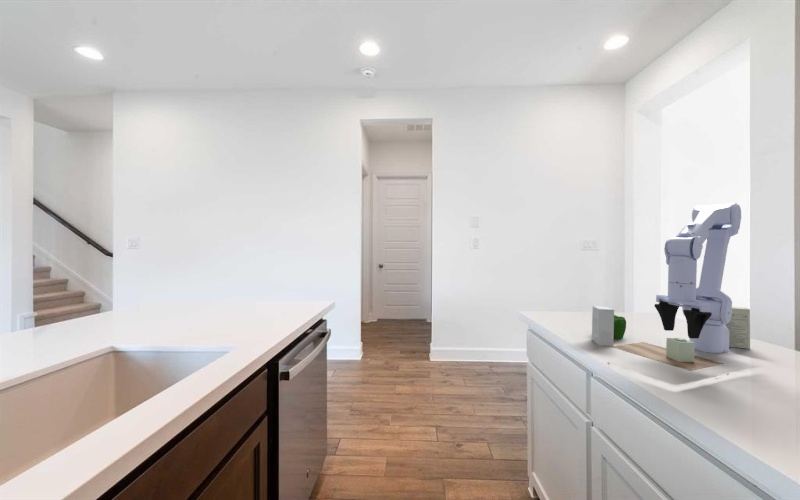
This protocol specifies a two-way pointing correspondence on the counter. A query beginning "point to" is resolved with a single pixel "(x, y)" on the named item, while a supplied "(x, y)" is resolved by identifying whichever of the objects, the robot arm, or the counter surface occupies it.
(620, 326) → the bell pepper
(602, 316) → the skincare box
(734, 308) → the skincare box
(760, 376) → the counter surface
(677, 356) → the sage cube with dome
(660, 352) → the board
